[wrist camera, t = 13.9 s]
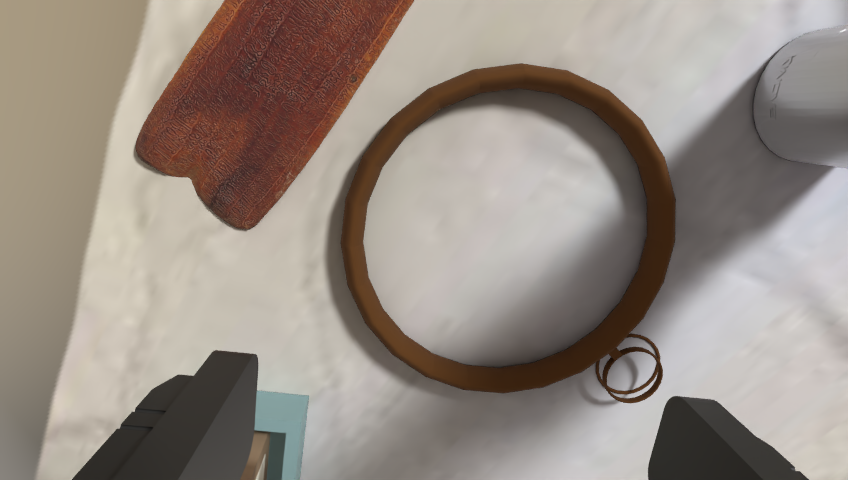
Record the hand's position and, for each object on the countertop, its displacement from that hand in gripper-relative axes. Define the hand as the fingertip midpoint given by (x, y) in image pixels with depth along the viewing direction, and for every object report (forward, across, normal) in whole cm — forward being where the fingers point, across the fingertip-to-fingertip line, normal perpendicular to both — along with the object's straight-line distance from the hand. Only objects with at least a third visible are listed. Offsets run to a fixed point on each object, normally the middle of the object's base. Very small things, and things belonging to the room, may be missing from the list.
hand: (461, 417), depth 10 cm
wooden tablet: (+28, +9, -9) cm, 31 cm away
